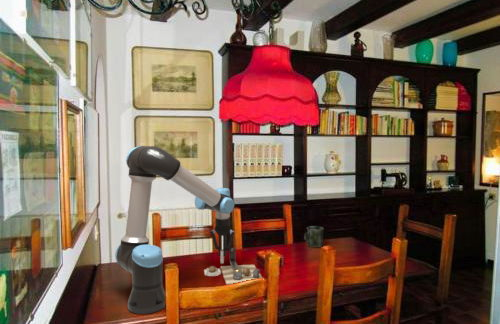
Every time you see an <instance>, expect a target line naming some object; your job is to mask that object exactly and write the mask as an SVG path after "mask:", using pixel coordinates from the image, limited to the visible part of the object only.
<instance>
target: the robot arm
mask: <svg viewBox="0 0 500 324" xmlns="http://www.w3.org/2000/svg"><path fill="white" fill-rule="evenodd" d="M125 161H126V166H127V168H128V178H129V179H130V180H131V182H130V183H131V184H130V191H129V201H128V207H127V208H128V209H127V218H126V227H125V235H124V236H123V237H121V239H120V244H119V245H118V247H116V250H115V254H114V256H115V260H116V263H117V264H118V265H119V267H121V268H122V269H123V270H125V271H127V272H128V273H130V274H131V275H132V276H131V277H132V279H131V280H132V281H131V282H132V283H131V284H132V286H131V287H132V289H131V291H130V294H129V297H128V300H127V310H128V312H130V313H134V314H138V315H147V314H152V313H157V312H159V311H162V310H163V309H164V308H165V307H166V306H165V294H166V291H165V289H164V287H163V260H164V259H163V258H164V257H163V250H162V248H160V247H159V246H157V245H155V244H153V245H151V244H150V238H149V237H147V229H148V221H149V213H150V203H151V194H152V186H153V181H155V180H156V179H157V176H158V177H161V178H162V179H164V180H166V181H172V182H173V183H175V184H176V185H177V186H179V187H181V188H183V190H185V191H187V192H188V193H190V194H191V195H193V196H194V197H195V198H194V206H195V208H196V209H198V210H199V211H200V210H203V211H204V210H208V211H209V210H210V211H214V212H215V214H214V215H215V219H214V220H215V226H214V229H212V230H210V232H209V233H210V235H211V237H212V241H213V245H214V249H215V250H217V251H218V257H220V264H224V262H225V257H226V256H227V251H228V250H229V251H230V248H231V243H232V240H233V237H234V234H235V233H236V232H235V230H232V228H231V213H232V212H233V210H234V208H235V202H234V199H233V198H231V190H230V189H229V188H228V187H218V188H213V187H212V186H211V185H209V184H208V183H207V182H205V181H203V179H201V178H200V177H198V176H197V175H196V174H194V173H193V172H191V171H190V170H188V169H187V168H186V167H184V166H183V165H182V163H181V161H180V160H179V159H177V158H175V157H174V156H173V155H172V154H170V152H168V151H166V150H165V149H163V148H161V147H159V146H155V145H154V146H153V145H139V146H136V147H133V148H132V149H130V150H129V152H128V153H127V155H126V157H125ZM216 234H217V235H218V241H217V237H216ZM228 234H229V237H228V242H227V235H228ZM222 237H223V239H222ZM222 241H223V248H222Z"/></svg>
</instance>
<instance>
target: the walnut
mask: <svg viewBox="0 0 500 324" xmlns="http://www.w3.org/2000/svg"><path fill="white" fill-rule="evenodd" d="M243 274H244V275H245V276H248V275H249V274H250V270H249V269H248V268H245V269H244V270H243Z"/></svg>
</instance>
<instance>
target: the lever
mask: <svg viewBox="0 0 500 324" xmlns="http://www.w3.org/2000/svg"><path fill="white" fill-rule="evenodd" d="M229 264H230V266H231V267H232V269H233V271H234V273H235V276H241V275H242V267H241V266H238V263H237V262H236V248H235V247H230V248H229Z"/></svg>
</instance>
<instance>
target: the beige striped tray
mask: <svg viewBox="0 0 500 324" xmlns="http://www.w3.org/2000/svg"><path fill="white" fill-rule="evenodd" d="M237 265H238V264H237ZM238 266H241V267H242V275H241V276H235V273H234V271H233V269H232V267H231V265H221V266H220V268H219V269H220V271H221V274H222V275H223V279H224V281H225V285H234V284H233V283H238V282H242V281H246V280H251V279H257V278H263V277H262V274H261V273H260V269H259V268H257V267H256V266H255V264H241V265H238ZM245 268H248V269H249V270H250V274H249V275H248V276H245V275H244V274H243V270H244V269H245Z"/></svg>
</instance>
